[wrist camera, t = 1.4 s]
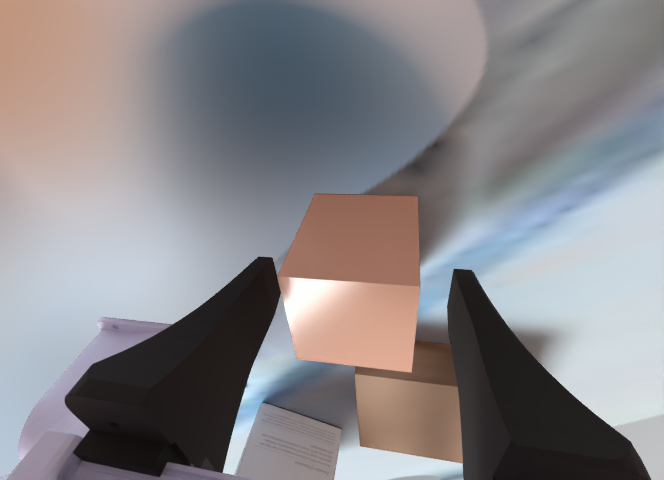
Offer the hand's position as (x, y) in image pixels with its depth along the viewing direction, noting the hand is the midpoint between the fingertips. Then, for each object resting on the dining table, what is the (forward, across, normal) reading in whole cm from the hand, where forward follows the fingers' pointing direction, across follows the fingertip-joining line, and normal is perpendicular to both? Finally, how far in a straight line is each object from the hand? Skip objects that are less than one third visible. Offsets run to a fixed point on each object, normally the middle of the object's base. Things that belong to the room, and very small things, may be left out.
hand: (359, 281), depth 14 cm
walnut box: (+3, -4, +12) cm, 13 cm away
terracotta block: (+3, 0, 0) cm, 3 cm away
